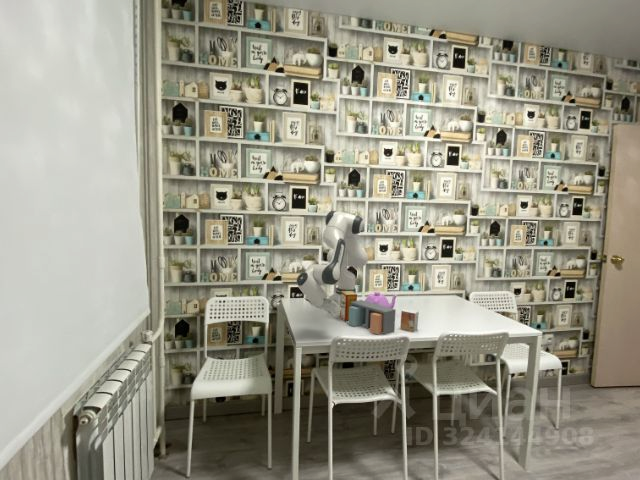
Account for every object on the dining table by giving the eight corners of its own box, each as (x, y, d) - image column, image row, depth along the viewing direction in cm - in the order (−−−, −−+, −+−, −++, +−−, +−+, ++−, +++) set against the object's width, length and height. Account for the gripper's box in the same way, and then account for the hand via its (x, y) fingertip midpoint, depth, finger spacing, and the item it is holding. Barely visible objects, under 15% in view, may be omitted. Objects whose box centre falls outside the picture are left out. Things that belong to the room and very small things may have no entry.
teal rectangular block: (354, 326, 224) (355, 308, 223) (348, 324, 228) (349, 306, 227) (365, 323, 230) (366, 306, 229) (359, 321, 234) (360, 304, 233)
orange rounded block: (377, 334, 212) (378, 315, 211) (369, 331, 216) (370, 313, 215) (388, 331, 218) (389, 313, 217) (380, 328, 222) (381, 310, 221)
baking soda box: (340, 316, 244) (341, 290, 242) (350, 316, 245) (351, 290, 244) (345, 321, 234) (346, 294, 233) (355, 320, 236) (357, 293, 234)
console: (384, 334, 213) (385, 312, 212) (349, 323, 232) (350, 302, 230) (394, 331, 219) (395, 309, 218) (360, 320, 237) (361, 299, 236)
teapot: (397, 321, 238) (398, 298, 237) (360, 317, 243) (361, 295, 241) (398, 311, 260) (399, 290, 259) (364, 308, 264) (364, 287, 263)
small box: (400, 329, 223) (401, 310, 222) (403, 327, 228) (404, 308, 227) (414, 332, 219) (415, 313, 218) (417, 329, 223) (418, 311, 222)
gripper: (335, 296, 201) (348, 312, 208) (309, 288, 216) (322, 303, 223) (328, 306, 198) (342, 322, 206) (302, 298, 213) (315, 313, 221)
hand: (331, 312), depth 215 cm, fingers closed
